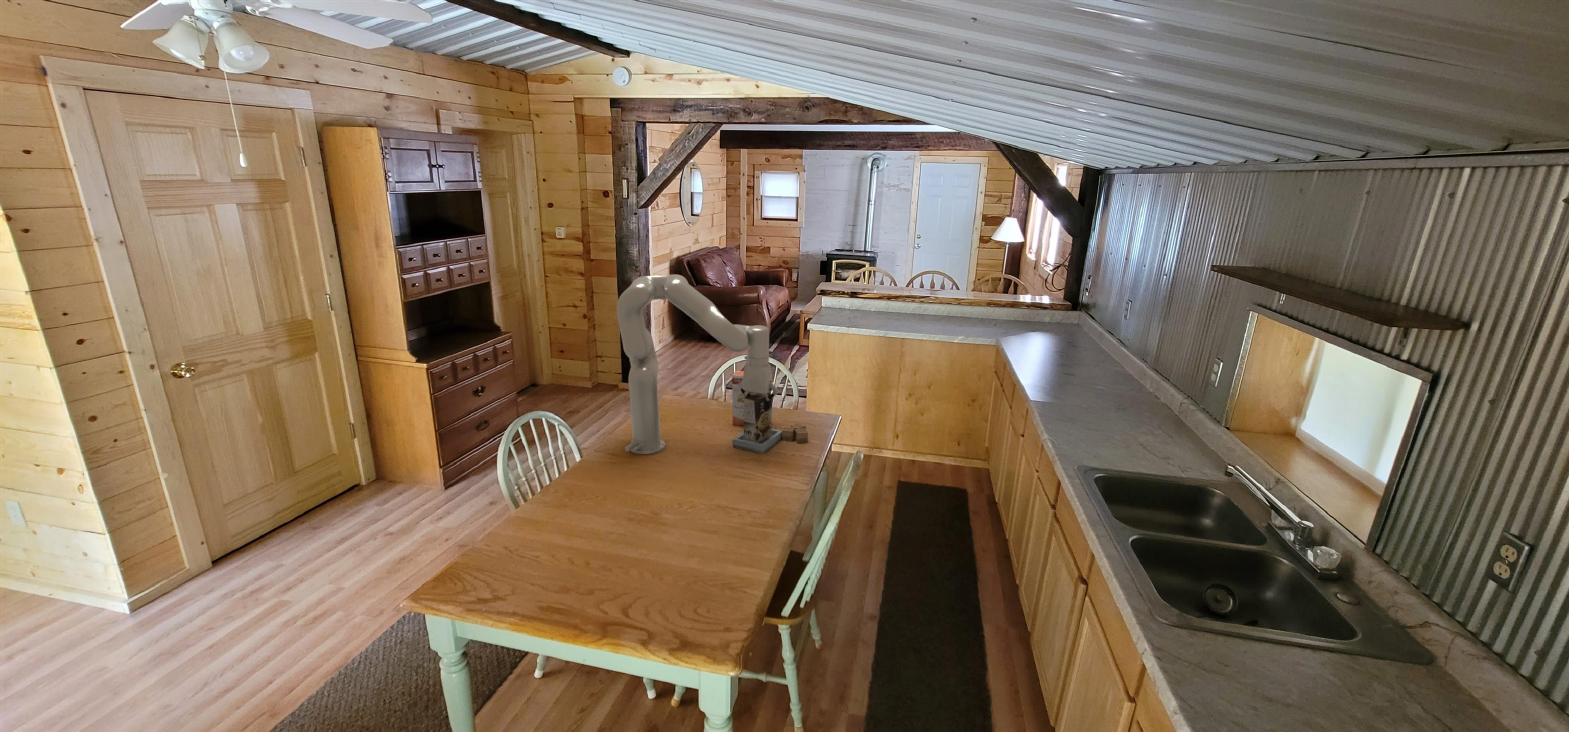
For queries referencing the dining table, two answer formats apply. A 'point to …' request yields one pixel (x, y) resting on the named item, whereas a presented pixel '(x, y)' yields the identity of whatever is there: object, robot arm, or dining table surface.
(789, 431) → the walnut block
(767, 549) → the dining table surface
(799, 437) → the walnut block
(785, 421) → the dining table surface
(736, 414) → the cracker box
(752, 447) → the tray
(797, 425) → the walnut block
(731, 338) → the robot arm
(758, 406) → the coffee box
